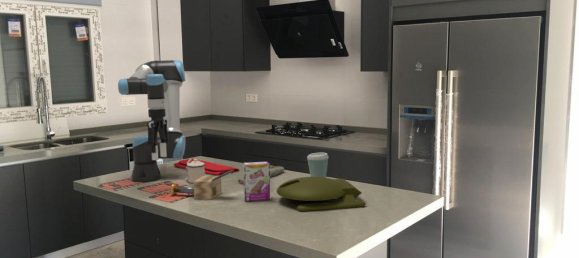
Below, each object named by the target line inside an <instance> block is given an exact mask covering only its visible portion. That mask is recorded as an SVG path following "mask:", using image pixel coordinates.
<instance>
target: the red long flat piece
mask: <svg viewBox="0 0 579 258" xmlns="http://www.w3.org/2000/svg"><path fill="white" fill-rule="evenodd" d="M194 159H195V158H187V159H181V160H179V161H178V162H175V163H174V164H173V167H174V166H175V167H174V168H177V167H179V168H178V169H181V168H183V170H186V167H187V164H188V163H191V162H192V161H194ZM198 161H200V162H203V163H204V164H205V166H204V167H205V173H206V174H205V175H210V174H211V175H212V176H215V175H216V176H220V175H222V174H224V173H226V172H228V171H230V170H234V171H233V172H235V173H238V171H239V172H240V169H239V168H238V167H234V166H230V165H225V164H221V163H220V164H219V163H215V162H210V161H207V160H201V159H198ZM233 172H231V173H230V174H234V173H233Z"/></svg>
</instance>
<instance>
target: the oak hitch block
mask: <svg viewBox="0 0 579 258" xmlns="http://www.w3.org/2000/svg"><path fill="white" fill-rule="evenodd" d="M215 177H217V176H215V175H210V174H205V176H203V177H201V178H199V179H197V180H195V181H193V183H192V184H193V187H194V193H193V197H194V198H193V199H194V200H205V201H206V200H208V201H209V200H210V201H211V200H213V199H215V198H216V197H217V196H220V195H221V194H222V193H223V192H222V189H223V188H222V177H221V178H219V179H216V180H214V181H212V179H213V178H215Z"/></svg>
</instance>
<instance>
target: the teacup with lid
mask: <svg viewBox="0 0 579 258" xmlns="http://www.w3.org/2000/svg"><path fill="white" fill-rule="evenodd" d="M193 159H194V161H192V162H191V163H188V164H187V167H186V169H185V173H186V175H187V183H190V184H193V181H195V180H197V179H199V178H201V177H203V176H205V175H206V174H205V167H204V166H205V164H204V163H203V162H200V161H198V160H199V159H197V158H193Z"/></svg>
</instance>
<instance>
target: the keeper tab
mask: <svg viewBox="0 0 579 258" xmlns="http://www.w3.org/2000/svg"><path fill="white" fill-rule="evenodd" d="M233 171H234V170H230V171H228V172H226V173H224V174H222V175H220V176H217V177H215V178H213V179H212V181H214V180H216V179H219V178H221V179H222V178H223V177H225V176H228V175H229V173H230V174H232V173H231V172H233Z"/></svg>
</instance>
